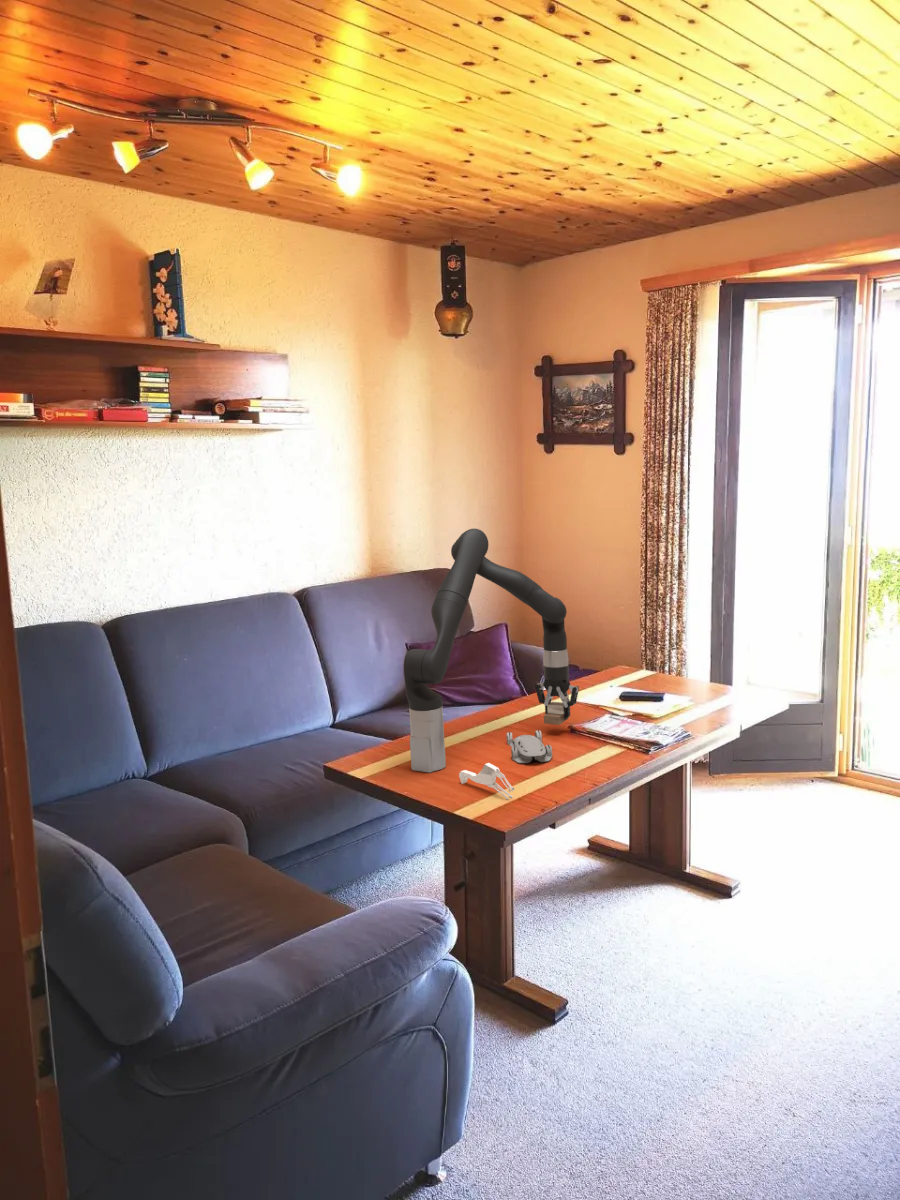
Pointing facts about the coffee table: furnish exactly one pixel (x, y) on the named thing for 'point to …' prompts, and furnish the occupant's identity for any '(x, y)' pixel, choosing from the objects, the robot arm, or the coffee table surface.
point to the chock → (554, 713)
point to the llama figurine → (487, 778)
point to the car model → (529, 748)
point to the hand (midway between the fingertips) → (557, 717)
